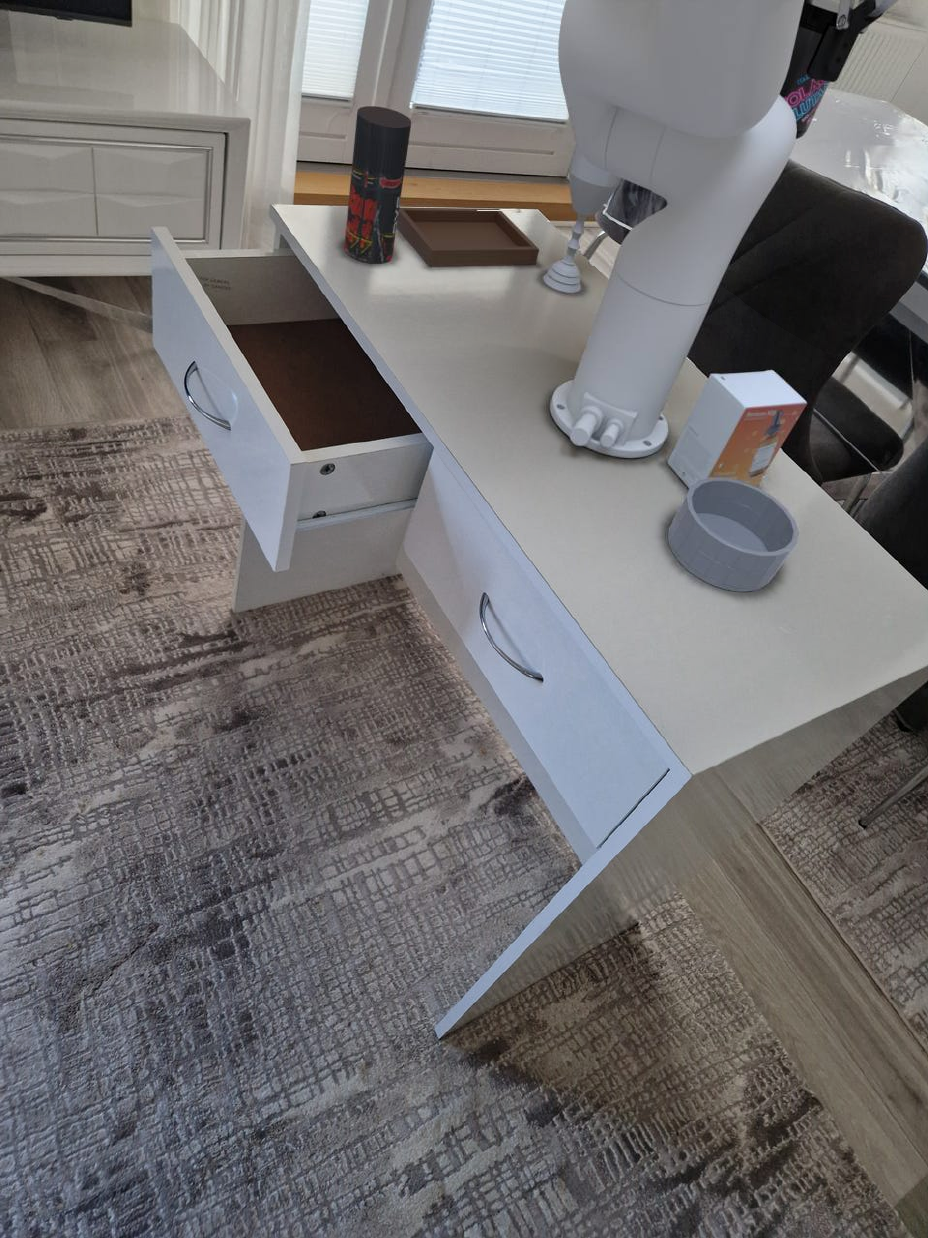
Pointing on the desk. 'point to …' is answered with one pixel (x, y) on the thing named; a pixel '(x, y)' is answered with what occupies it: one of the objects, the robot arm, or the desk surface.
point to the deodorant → (376, 183)
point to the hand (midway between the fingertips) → (799, 63)
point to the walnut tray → (465, 237)
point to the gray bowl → (732, 534)
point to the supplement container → (808, 62)
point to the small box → (736, 427)
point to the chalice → (581, 216)
